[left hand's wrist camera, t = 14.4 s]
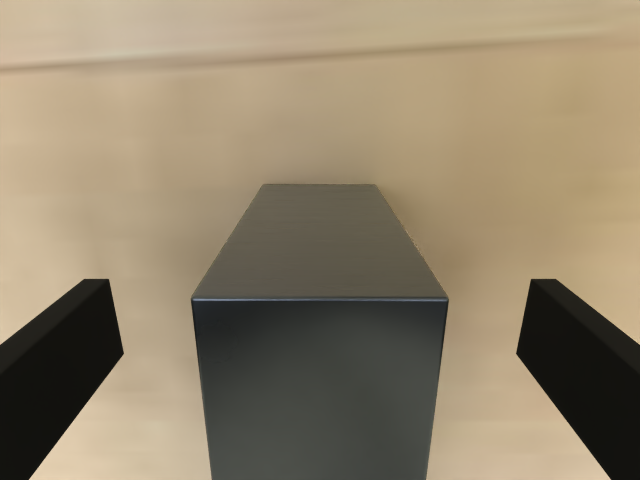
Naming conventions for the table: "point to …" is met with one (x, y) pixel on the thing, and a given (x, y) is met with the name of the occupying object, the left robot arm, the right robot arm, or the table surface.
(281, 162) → the table surface
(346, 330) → the bar
